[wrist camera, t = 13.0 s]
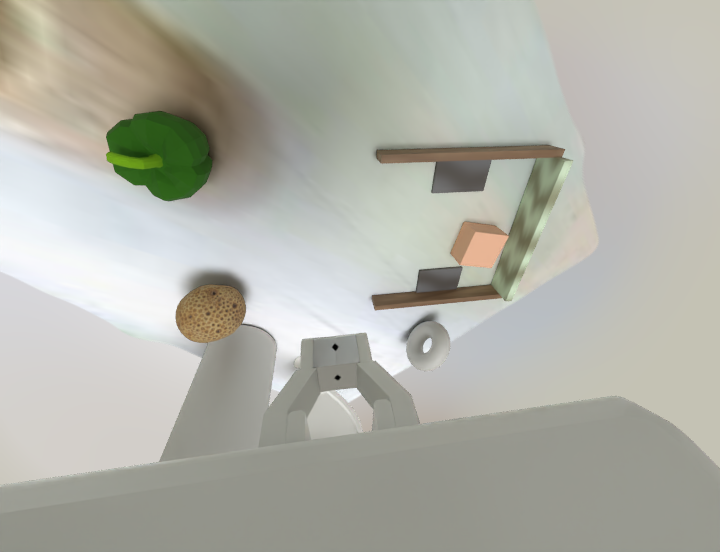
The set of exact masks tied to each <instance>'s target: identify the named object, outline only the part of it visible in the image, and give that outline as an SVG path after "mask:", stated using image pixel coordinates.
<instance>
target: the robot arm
mask: <svg viewBox="0 0 720 552" xmlns="http://www.w3.org/2000/svg"><path fill="white" fill-rule="evenodd" d="M348 388H357V389H358V390H359V392H360V393H361V394H362V396H363V397H364V398H365V399H366V401H367V402H368V403H369V404H370V406H371V407H372V408H373V424H372V431H369V432H362V433H355V434H348V435H342V436H335V437H328V438H321V439H314V440H311V436H310V431H309V427H308V423H307V418H308V416H309V414H310V412H311V410H312V408H313V406H314V404H315V403H316V401H317V399H318V397H319V395H320V392H325V391H332V390H338V389H348ZM0 552H720V468H719V467H718V466H717V465H716V464H715V463H714V462H713V461H712V460H711V459H710V458H709V457H708V456H707V455H706V454H705V453H704V452H703V451H702V450H701V449H700V448H699V447H698V446H697V445H696V444H695V443H694V442H693V441H692V440H691V439H690V438H689V437H688V436H687V435H685V434H684V433H683V432H682V431H681V430H680V429H678V428H677V427H676V426H675V425H673V424H672V423H670V422H669V421H667V420H665V419H663V418H662V417H660V416H658V415H656V414H654V413H652V412H651V411H649V410H647V409H645V408H643V407H641V406H639V405H637V404H635V403H633V402H631V401H629V400H627V399H625V398H622V397H617V396H610V397H602V398H596V399H589V400H582V401H575V402H568V403H561V404H555V405H547V406H540V407H534V408H527V409H520V410H513V411H506V412H499V413H493V414H486V415H479V416H472V417H465V418H459V419H452V420H445V421H438V422H431V423H424V424H420V422H419V418H418V416H417V412H416V409H415V406H414V403H413V399H412V396H411V394H410V393H409V392H408V391H407V390H405V389H404V388H403V387H402V386H401V385H400V384H399V383H398V382H397V381H396V380H395V379H394V378H393V377H392V376H391V375H390V374H389V373H388V372H387V371H386V370H385V369H384V368H382V367H381V366H380V365H379V364H378V363H377V362H376V361H372V357H371V352H370V347H369V342H368V338H367V334H366V333H358V334H348V335H339V336H333V337H320V338H309V339H302V342H301V358H300V370H296V371H295V373H294V374H293V375H292V377H291V378H290V380H289V381H288V382H287V384H286V385H285V386H284V388H283V389H282V390H281V392H280V393H279V394H278V396H277V397H276V398H275V400H274V401H273V402H272V404H271V405H270V406H269V408H268V409H267V410H266V412H265V413H264V415H263V421H262V427H261V433H260V440H259V446H258V448H253V449H246V450H239V451H232V452H225V453H218V454H212V455H205V456H198V457H191V458H184V459H177V460H170V461H163V462H157V463H150V464H143V465H136V466H129V467H123V468H115V469H108V470H101V471H95V472H88V473H81V474H74V475H67V476H61V477H53V478H46V479H39V480H32V481H26V482H18V483H11V484H4V485H0Z"/></svg>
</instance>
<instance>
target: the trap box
mask: <svg viewBox="0 0 720 552" xmlns="http://www.w3.org/2000/svg"><path fill="white" fill-rule="evenodd" d="M564 151H565V149H562V148H558V147H554V146H550V145H540V146H505V147H470V148H435V149H400V150H377V159H378V160H379V162H380V163H410V162H436V167H435V174H434V180H433V186H432V193H449V192H470V191H483V190H484V186H485V183H486V179H487V175H488V172H489V168H490V164H491V160H497V159H527V158H537V159H536V162H535V165H534V167H533V170H532V173H531V176H530V178H529V181H528V184H527V187H526V189H525V192H524V195H523V198H522V200H521V203H520V206H519V209H518V211H517V214H516V217H515V220H514V222H513V225H512V228H511V231H510V233H509V237H508V239H507V242H506V244H505V247H504V250H503V253H502V255H501V258H500V261H499V264H498V266H497V269H496V272H495V275H494V278H493V280H492V283H491V285H483V286H472V287H461V288H457V286H458V282H459V279H460V275H461V271H462V267H449V268H437V269H425V270H419V275H418V282H417V288H416V292H405V293H394V294H383V295H372V302H373V305H374V309H375V310H383V309H394V308H404V307H414V306H425V305H435V304H445V303H456V302H466V301H477V300H487V299H497V298H503V299H504V300H505V301H512V299H513V297H514V294H515V292H516V290H517V288H518V285H519V283H520V281H521V278H522V276H523V274H524V272H525V269H526V267H527V265H528V263H529V260H530V258H531V256H532V253H533V251H534V249H535V247H536V244H537V242H538V240H539V238H540V235H541V233H542V231H543V228H544V226H545V224H546V222H547V219H548V217H549V215H550V213H551V210H552V208H553V206H554V204H555V201H556V199H557V197H558V194H559V192H560V190H561V188H562V185H563V183H564V181H565V179H566V176H567V174H568V172H569V169H570V167H571V165H572V163H573V160H569V159H566V158H563V157H562V156H563V153H564Z"/></svg>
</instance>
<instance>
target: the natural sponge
mask: <svg viewBox="0 0 720 552" xmlns="http://www.w3.org/2000/svg"><path fill="white" fill-rule="evenodd" d="M245 313H246V305H245V301H244V299H243V297H242V295H241V294H240V292H239V291H238V290H237V289H235V288H234V287H231V286H226V285H212V284H209V285H203V286H200V287H198V288H196V289H194V290H192V291H191V292H190V293H188V294H187V295H186V296H185V297H184V298H183V299H182V300H181V301H180V303H179V305H178V306H177V310H176V323H177V326H178V329H179V330H180V332H181V333H182V334H183V335H184V336H185V337H186V338H188V339H189V340H191V341H194V342H199V343H207V342H213V341H217V340H220V339H223V338H225V337H227V336H229V335H231V334H233V333H234V332H235V331H236V329H237V328H239V327H240V325H241V324H242V322H243V319H244V317H245Z"/></svg>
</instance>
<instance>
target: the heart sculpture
mask: <svg viewBox="0 0 720 552" xmlns="http://www.w3.org/2000/svg"><path fill="white" fill-rule="evenodd" d="M300 358H301V356H299V357H298V358H296V359H295V361H294V367H295V368H299V369H300ZM307 423H308V427H309V431H310V436H311V440H314V439H321V438H328V437H335V436H342V435H348V434H355V433H362V432H363V430H362V426H361V422H360V420H359V418H358V416H357V415H356V413H355V411H354V410H353V408H352V407H351V406H350V405H349V403H348V402H347V401H346V400H345V399H344V398H343V397H342V396H341V395H339V394H338V393H337V392H336V391H335V390H332V391H325V392H320V395H319V397H318V399H317V401H316V403H315V404H314V406H313V408H312V410H311V412H310V414H309V416H308V418H307Z"/></svg>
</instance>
